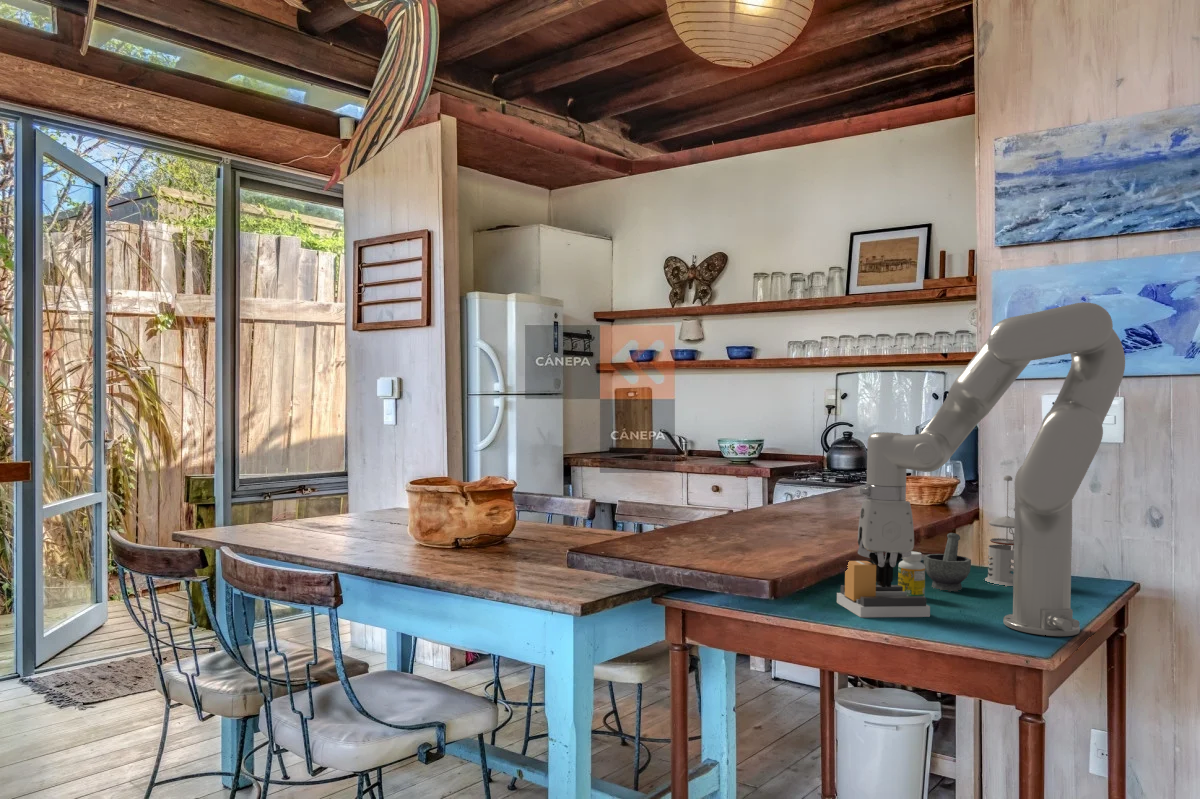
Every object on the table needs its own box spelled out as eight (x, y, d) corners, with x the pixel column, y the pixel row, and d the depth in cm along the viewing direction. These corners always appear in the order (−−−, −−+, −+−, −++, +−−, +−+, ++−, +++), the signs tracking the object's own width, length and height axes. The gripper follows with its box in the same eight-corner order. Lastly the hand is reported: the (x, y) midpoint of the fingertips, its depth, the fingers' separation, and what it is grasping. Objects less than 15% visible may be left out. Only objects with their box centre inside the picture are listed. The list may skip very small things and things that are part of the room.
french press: (976, 581, 200) (978, 474, 200) (995, 575, 208) (997, 472, 208) (1020, 589, 193) (1022, 478, 193) (1038, 582, 201) (1040, 475, 201)
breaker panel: (929, 616, 166) (930, 598, 166) (860, 617, 165) (860, 598, 165) (901, 602, 178) (902, 584, 178) (836, 602, 177) (837, 585, 177)
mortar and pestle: (962, 595, 186) (963, 540, 186) (918, 589, 191) (919, 535, 191) (976, 586, 195) (976, 534, 195) (933, 581, 200) (934, 529, 200)
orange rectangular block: (875, 600, 169) (876, 564, 169) (853, 600, 169) (854, 564, 169) (866, 595, 174) (866, 560, 174) (844, 595, 173) (845, 560, 173)
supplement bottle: (930, 599, 181) (930, 554, 181) (908, 601, 179) (909, 555, 179) (913, 594, 186) (914, 549, 186) (892, 595, 184) (893, 550, 184)
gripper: (857, 495, 167) (855, 589, 167) (930, 496, 169) (928, 589, 169) (842, 491, 175) (840, 581, 175) (913, 492, 176) (910, 581, 176)
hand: (883, 585), depth 172 cm, fingers closed
